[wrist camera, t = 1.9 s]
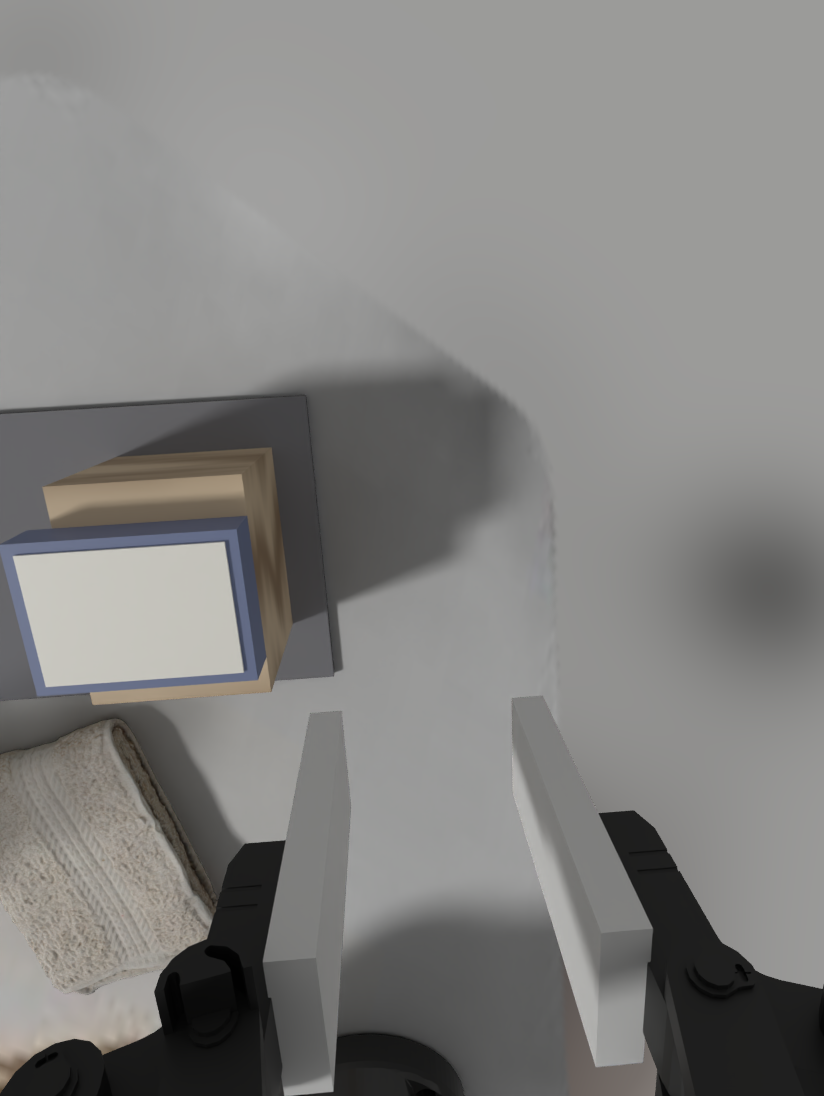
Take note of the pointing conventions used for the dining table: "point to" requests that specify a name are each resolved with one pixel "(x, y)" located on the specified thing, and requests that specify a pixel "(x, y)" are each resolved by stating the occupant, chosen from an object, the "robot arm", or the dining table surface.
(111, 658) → the card box
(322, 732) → the robot arm
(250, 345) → the dining table surface
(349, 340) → the dining table surface
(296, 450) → the mat
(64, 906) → the washcloth
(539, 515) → the dining table surface
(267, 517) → the oak block
